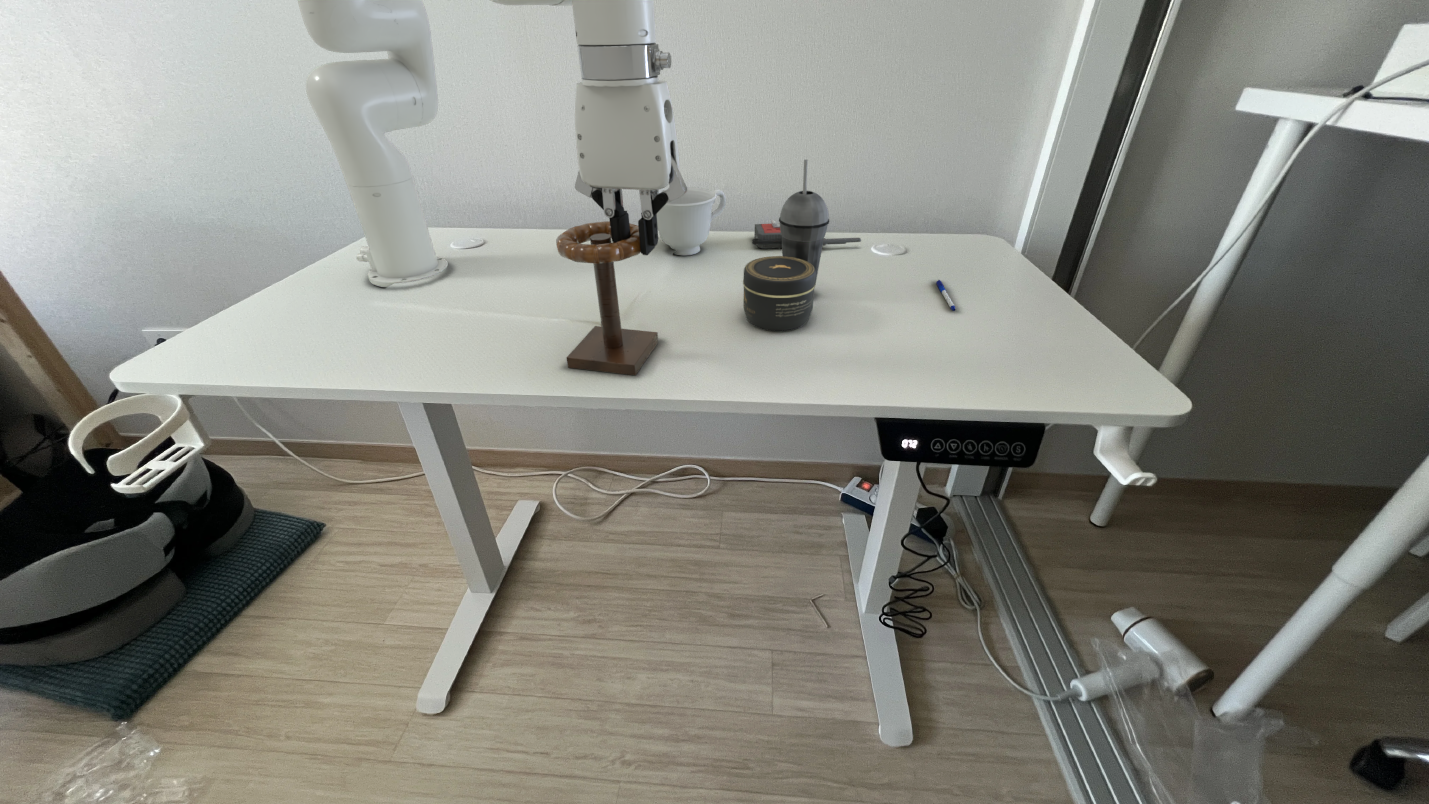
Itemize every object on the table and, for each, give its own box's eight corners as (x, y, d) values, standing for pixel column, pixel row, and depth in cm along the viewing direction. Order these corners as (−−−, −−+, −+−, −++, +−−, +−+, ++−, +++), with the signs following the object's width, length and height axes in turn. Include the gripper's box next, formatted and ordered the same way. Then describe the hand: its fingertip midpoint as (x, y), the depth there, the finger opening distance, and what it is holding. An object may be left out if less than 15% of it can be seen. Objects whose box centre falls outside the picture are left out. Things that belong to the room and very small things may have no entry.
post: (567, 367, 73) (546, 247, 65) (596, 335, 81) (580, 222, 72) (635, 375, 72) (622, 252, 63) (658, 341, 79) (650, 227, 70)
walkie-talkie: (753, 253, 107) (861, 249, 108) (754, 229, 104) (864, 225, 105) (747, 238, 114) (848, 234, 115) (748, 215, 112) (851, 211, 113)
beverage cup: (827, 289, 93) (841, 155, 82) (814, 307, 87) (827, 165, 76) (784, 282, 95) (791, 151, 84) (768, 299, 90) (774, 161, 79)
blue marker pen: (934, 284, 94) (935, 278, 94) (939, 284, 94) (940, 278, 94) (951, 311, 86) (952, 305, 85) (957, 311, 86) (959, 305, 85)
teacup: (742, 250, 108) (743, 194, 103) (672, 266, 102) (668, 208, 96) (708, 233, 117) (707, 181, 111) (641, 247, 110) (636, 192, 105)
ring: (542, 262, 65) (538, 245, 64) (580, 233, 74) (578, 217, 72) (630, 268, 63) (628, 250, 62) (659, 237, 71) (658, 221, 70)
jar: (732, 309, 87) (733, 259, 83) (794, 299, 90) (797, 251, 85) (757, 338, 79) (759, 285, 75) (824, 327, 82) (829, 275, 77)
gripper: (708, 63, 59) (711, 244, 69) (560, 63, 62) (584, 236, 72) (687, 69, 52) (694, 267, 63) (525, 69, 56) (557, 257, 66)
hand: (636, 249), depth 67 cm, fingers closed on ring, 2 cm apart
